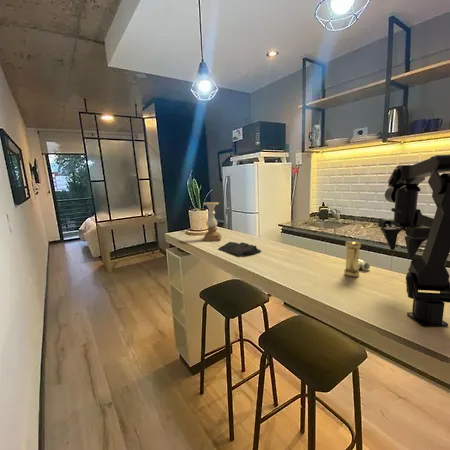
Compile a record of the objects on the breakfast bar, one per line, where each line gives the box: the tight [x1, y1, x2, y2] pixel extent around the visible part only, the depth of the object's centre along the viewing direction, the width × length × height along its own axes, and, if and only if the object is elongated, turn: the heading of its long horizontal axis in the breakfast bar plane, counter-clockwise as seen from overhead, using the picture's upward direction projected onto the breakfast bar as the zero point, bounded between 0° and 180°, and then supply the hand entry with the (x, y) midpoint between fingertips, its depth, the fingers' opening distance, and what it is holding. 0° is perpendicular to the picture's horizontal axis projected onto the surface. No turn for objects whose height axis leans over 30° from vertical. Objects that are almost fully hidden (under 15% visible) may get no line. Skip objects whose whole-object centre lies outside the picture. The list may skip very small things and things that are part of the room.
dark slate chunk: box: [217, 241, 262, 258], centre depth 143 cm, size 15×22×5 cm
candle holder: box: [202, 201, 222, 242], centre depth 170 cm, size 11×11×24 cm
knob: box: [343, 240, 362, 278], centre depth 103 cm, size 5×5×13 cm
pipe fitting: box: [358, 258, 371, 271], centre depth 111 cm, size 8×4×7 cm
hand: (401, 253), depth 86 cm, fingers open, 9 cm apart
